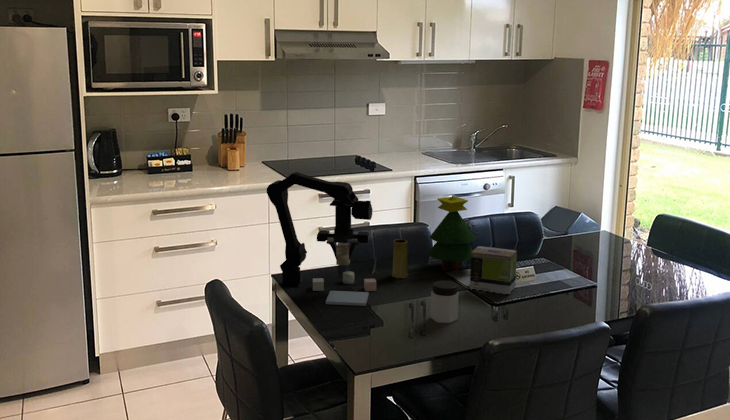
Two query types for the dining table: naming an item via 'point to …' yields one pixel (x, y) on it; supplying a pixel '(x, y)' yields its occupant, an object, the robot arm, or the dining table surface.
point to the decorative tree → (452, 236)
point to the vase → (400, 259)
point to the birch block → (342, 254)
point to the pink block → (370, 284)
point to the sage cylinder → (348, 277)
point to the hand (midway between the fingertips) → (343, 259)
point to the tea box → (493, 269)
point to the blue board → (347, 298)
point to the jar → (444, 302)
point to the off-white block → (318, 284)
